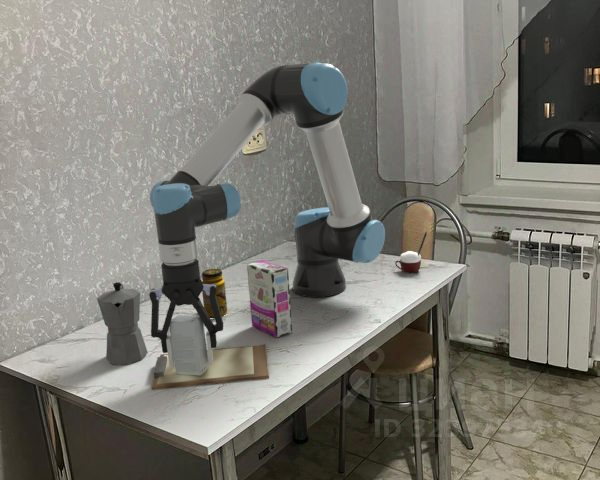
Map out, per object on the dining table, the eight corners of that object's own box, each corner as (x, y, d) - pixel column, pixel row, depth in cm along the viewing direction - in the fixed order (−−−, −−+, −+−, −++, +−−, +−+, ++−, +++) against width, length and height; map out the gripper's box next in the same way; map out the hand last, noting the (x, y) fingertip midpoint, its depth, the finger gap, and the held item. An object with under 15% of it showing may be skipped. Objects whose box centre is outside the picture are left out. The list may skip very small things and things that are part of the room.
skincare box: (209, 367, 141) (203, 315, 138) (201, 376, 137) (194, 322, 134) (184, 365, 143) (177, 314, 140) (175, 374, 139) (167, 321, 136)
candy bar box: (293, 332, 159) (289, 268, 155) (277, 338, 156) (271, 273, 152) (267, 320, 168) (262, 259, 163) (251, 326, 165) (245, 263, 160)
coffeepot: (148, 365, 146) (138, 288, 142) (104, 372, 144) (92, 294, 140) (147, 339, 161) (138, 269, 156) (108, 345, 159) (97, 274, 154)
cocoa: (394, 273, 199) (390, 235, 196) (402, 267, 204) (399, 230, 201) (423, 276, 194) (420, 237, 190) (431, 269, 198) (428, 231, 195)
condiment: (233, 314, 173) (229, 271, 170) (204, 323, 169) (199, 278, 166) (221, 307, 179) (216, 265, 176) (192, 315, 175) (187, 272, 172)
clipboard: (265, 346, 152) (265, 339, 151) (268, 377, 136) (268, 370, 136) (160, 356, 150) (159, 349, 150) (152, 389, 135) (150, 381, 134)
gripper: (125, 270, 129) (140, 376, 135) (229, 261, 131) (239, 366, 137) (131, 259, 137) (145, 361, 142) (230, 251, 138) (239, 351, 144)
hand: (191, 363), depth 140 cm, fingers open, 7 cm apart
